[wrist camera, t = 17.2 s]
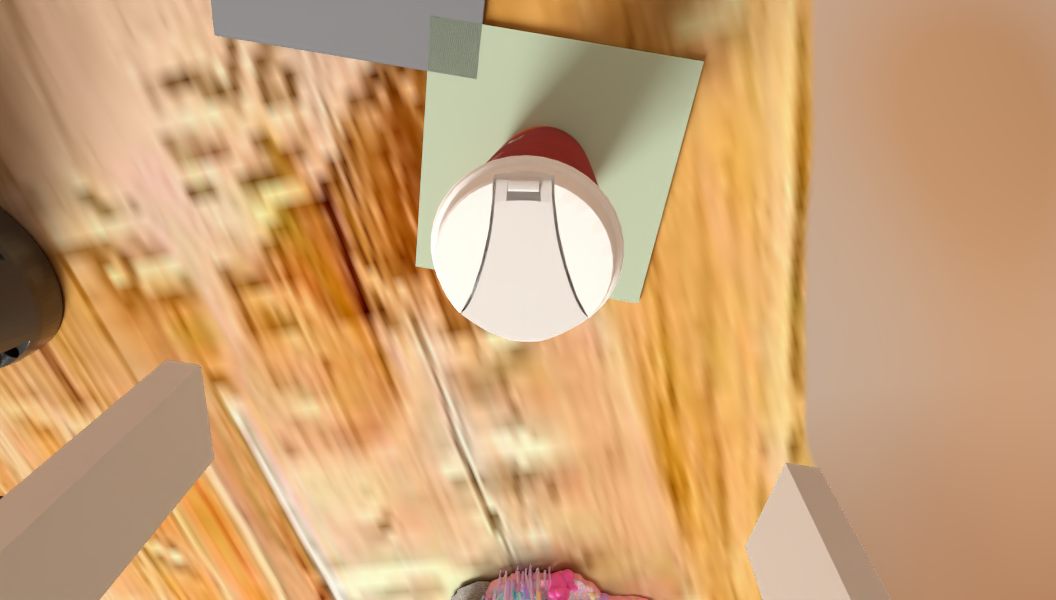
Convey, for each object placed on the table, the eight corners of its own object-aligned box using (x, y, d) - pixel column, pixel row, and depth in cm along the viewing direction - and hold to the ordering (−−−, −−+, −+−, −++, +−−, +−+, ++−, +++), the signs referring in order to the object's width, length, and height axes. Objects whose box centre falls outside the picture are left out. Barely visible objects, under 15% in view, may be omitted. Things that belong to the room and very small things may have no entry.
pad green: (417, 263, 40) (415, 266, 39) (432, 15, 32) (430, 15, 32) (637, 300, 40) (638, 303, 39) (702, 61, 32) (704, 61, 32)
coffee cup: (476, 105, 34) (413, 162, 21) (611, 106, 34) (635, 165, 20) (481, 234, 38) (431, 351, 25) (603, 237, 37) (619, 359, 24)
